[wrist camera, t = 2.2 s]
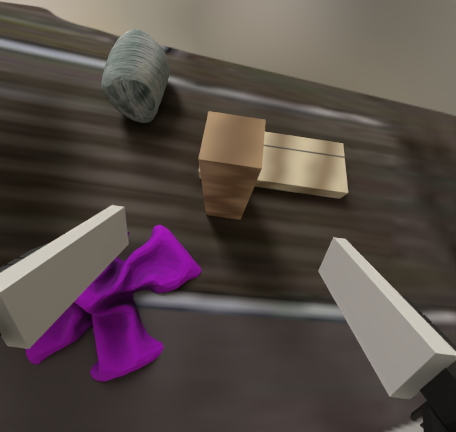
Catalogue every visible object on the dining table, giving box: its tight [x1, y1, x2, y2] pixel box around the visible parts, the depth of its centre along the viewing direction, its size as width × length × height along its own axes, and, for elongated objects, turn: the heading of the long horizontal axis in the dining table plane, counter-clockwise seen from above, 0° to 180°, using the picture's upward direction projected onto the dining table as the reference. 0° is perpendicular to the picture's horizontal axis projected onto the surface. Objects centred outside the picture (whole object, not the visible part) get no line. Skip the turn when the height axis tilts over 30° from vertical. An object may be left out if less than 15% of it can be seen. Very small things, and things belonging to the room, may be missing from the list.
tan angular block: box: [199, 111, 266, 220], centre depth 23 cm, size 5×13×13 cm, turn 173°
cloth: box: [25, 225, 201, 382], centre depth 20 cm, size 22×19×6 cm
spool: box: [101, 29, 170, 123], centre depth 30 cm, size 14×10×10 cm
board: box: [199, 132, 348, 199], centre depth 29 cm, size 22×9×2 cm, turn 83°
